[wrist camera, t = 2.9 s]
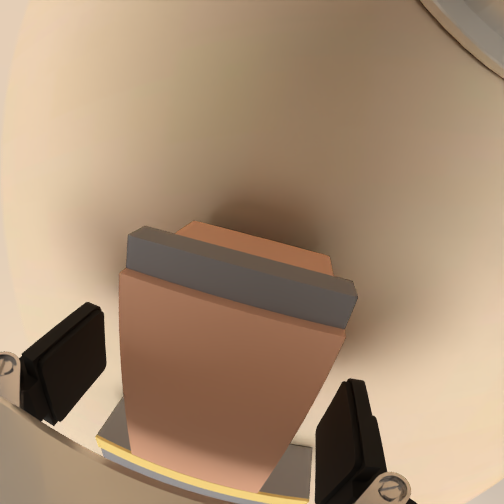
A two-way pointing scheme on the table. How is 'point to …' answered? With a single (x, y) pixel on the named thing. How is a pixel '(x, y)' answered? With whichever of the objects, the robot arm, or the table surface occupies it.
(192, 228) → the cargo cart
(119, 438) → the loading dock
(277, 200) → the table surface
